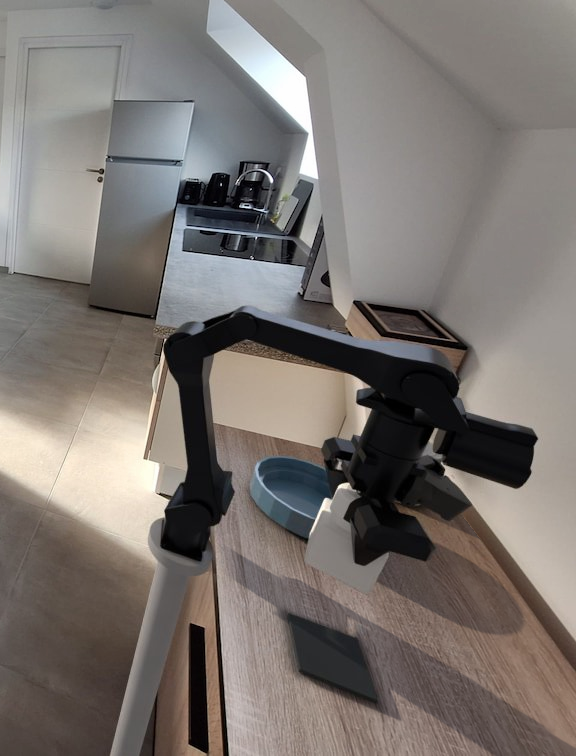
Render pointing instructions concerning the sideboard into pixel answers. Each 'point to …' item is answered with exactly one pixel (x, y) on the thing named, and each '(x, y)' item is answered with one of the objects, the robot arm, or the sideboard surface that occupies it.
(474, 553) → the sideboard surface
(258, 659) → the sideboard surface
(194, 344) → the robot arm
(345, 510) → the medicine bottle
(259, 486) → the blue saucer dish
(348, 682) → the coaster
